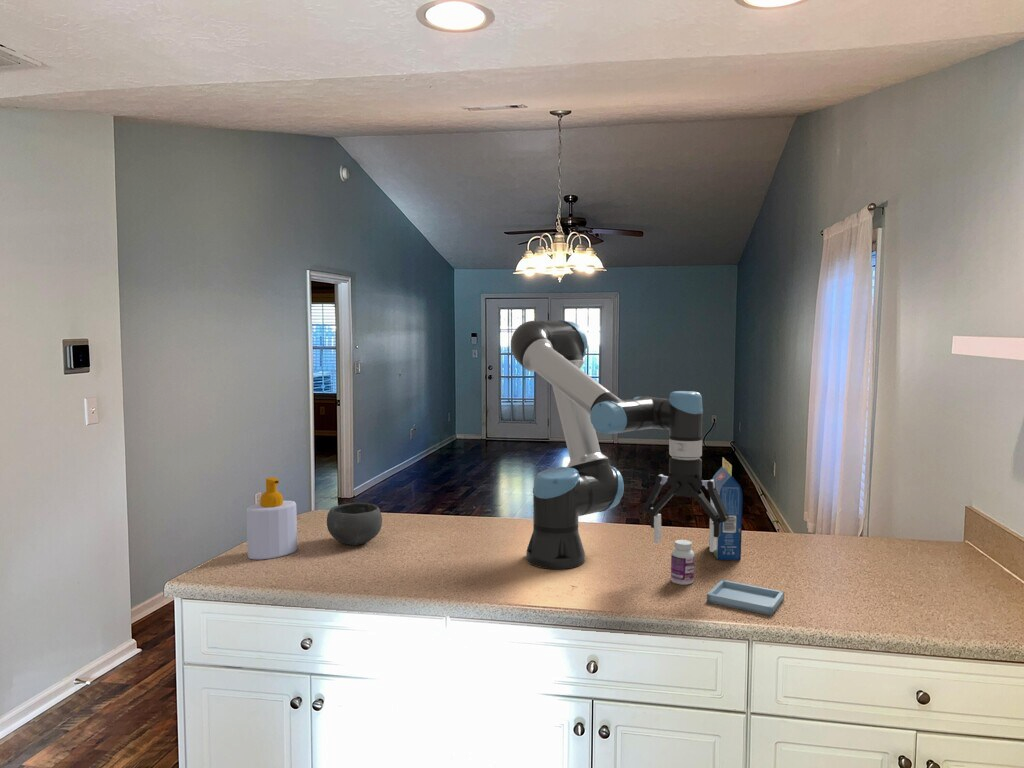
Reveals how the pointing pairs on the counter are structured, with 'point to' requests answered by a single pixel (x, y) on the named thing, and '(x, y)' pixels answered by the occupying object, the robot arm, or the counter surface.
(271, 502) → the soap bottle
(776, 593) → the tray
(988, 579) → the counter surface
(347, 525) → the bowl
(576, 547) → the robot arm
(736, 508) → the blue food package
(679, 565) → the pill bottle
